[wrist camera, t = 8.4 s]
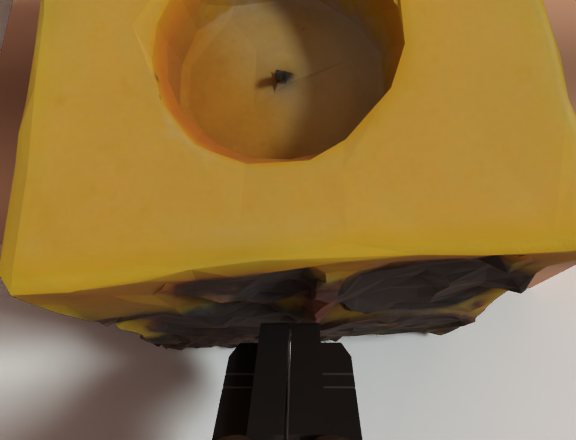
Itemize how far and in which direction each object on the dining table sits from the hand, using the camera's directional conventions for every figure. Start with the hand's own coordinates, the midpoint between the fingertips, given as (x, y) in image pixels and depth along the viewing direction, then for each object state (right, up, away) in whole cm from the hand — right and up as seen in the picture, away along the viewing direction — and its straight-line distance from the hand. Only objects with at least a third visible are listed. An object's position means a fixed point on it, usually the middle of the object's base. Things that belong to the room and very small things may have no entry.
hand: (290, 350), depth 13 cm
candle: (0, +4, +6) cm, 7 cm away
